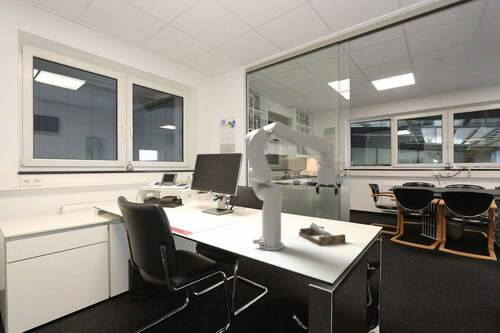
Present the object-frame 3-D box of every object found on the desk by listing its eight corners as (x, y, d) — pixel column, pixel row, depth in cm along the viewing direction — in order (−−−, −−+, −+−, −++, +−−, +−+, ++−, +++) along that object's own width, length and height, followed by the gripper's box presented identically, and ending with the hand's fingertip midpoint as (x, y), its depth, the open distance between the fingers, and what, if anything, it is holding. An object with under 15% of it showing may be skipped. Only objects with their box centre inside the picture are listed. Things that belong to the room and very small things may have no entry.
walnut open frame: (319, 245, 118) (319, 237, 118) (298, 235, 136) (298, 228, 136) (345, 242, 123) (345, 234, 123) (322, 233, 142) (322, 226, 142)
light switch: (335, 239, 123) (311, 224, 128) (329, 248, 124) (306, 232, 129) (336, 235, 131) (313, 221, 136) (330, 243, 132) (308, 229, 137)
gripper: (310, 164, 130) (309, 194, 130) (342, 164, 122) (342, 196, 122) (313, 164, 137) (312, 193, 137) (344, 164, 129) (343, 195, 129)
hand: (326, 194), depth 129 cm, fingers open, 9 cm apart
